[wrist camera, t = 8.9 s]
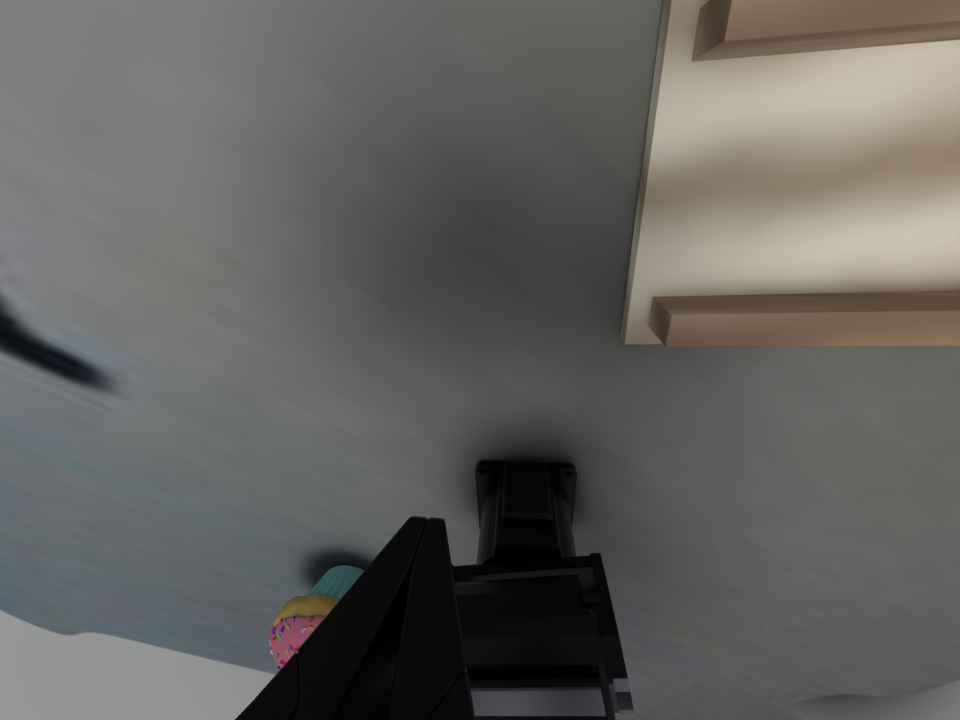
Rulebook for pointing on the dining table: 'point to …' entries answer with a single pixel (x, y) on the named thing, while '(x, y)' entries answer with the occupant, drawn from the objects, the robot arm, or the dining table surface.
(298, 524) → the dining table surface
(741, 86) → the bay
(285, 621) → the cupcake
